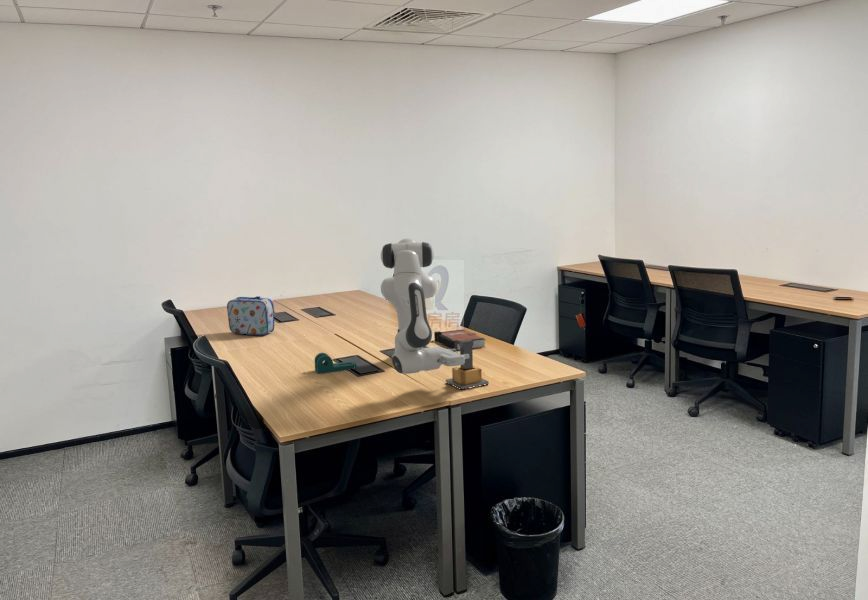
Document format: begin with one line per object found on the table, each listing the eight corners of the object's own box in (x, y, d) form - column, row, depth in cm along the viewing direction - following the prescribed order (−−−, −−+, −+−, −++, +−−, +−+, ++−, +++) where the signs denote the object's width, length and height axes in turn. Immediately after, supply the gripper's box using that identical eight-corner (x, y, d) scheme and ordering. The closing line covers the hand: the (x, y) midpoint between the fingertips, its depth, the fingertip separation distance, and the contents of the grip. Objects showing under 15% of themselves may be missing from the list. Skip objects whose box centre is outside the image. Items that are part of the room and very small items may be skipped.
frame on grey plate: (461, 390, 274) (460, 374, 272) (445, 383, 284) (445, 367, 283) (488, 384, 280) (488, 369, 279) (472, 377, 290) (472, 362, 289)
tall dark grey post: (463, 385, 279) (462, 342, 276) (459, 384, 282) (458, 341, 279) (474, 383, 282) (473, 340, 279) (470, 382, 284) (469, 339, 281)
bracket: (318, 374, 303) (317, 357, 302) (315, 370, 310) (314, 353, 308) (358, 369, 310) (357, 352, 308) (354, 365, 316) (353, 348, 315)
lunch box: (279, 332, 390) (277, 294, 386) (270, 337, 380) (267, 297, 376) (237, 331, 398) (234, 293, 394) (227, 335, 388) (223, 296, 384)
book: (487, 348, 342) (486, 338, 342) (454, 352, 336) (454, 342, 335) (465, 337, 366) (464, 328, 366) (434, 341, 360) (434, 331, 359)
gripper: (445, 355, 262) (476, 350, 269) (420, 345, 280) (449, 341, 287) (445, 372, 264) (476, 366, 270) (420, 360, 281) (449, 355, 288)
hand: (462, 353), depth 279 cm, fingers open, 8 cm apart
